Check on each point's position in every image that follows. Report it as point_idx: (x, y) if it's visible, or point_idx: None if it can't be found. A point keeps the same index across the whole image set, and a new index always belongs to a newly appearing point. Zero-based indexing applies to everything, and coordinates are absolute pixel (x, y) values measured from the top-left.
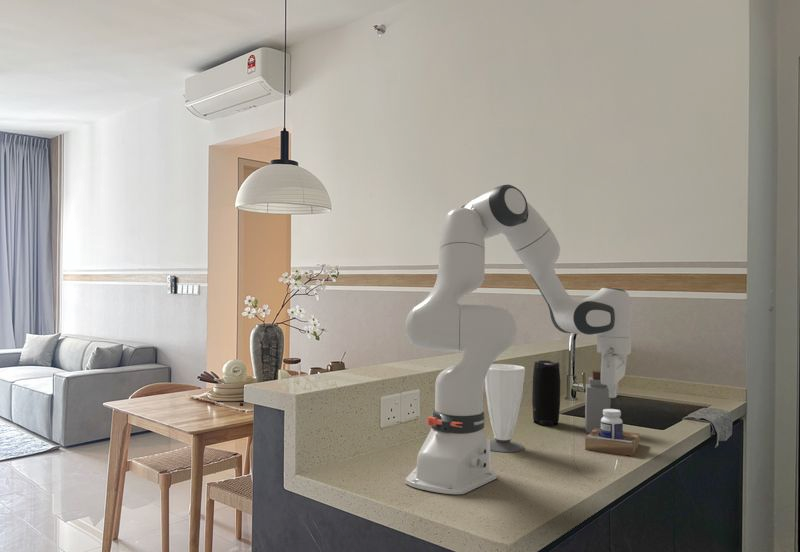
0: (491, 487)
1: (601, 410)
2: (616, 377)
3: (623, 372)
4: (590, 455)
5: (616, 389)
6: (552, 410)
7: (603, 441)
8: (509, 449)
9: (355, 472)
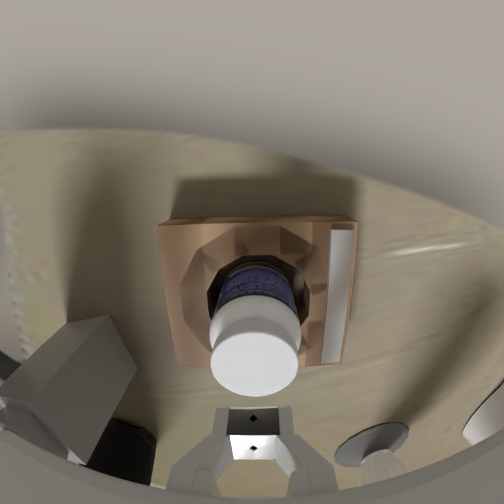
0: None
1: (89, 376)
2: (491, 478)
3: (35, 477)
4: (383, 319)
5: (225, 442)
6: (136, 455)
7: (348, 315)
8: (398, 432)
9: None
